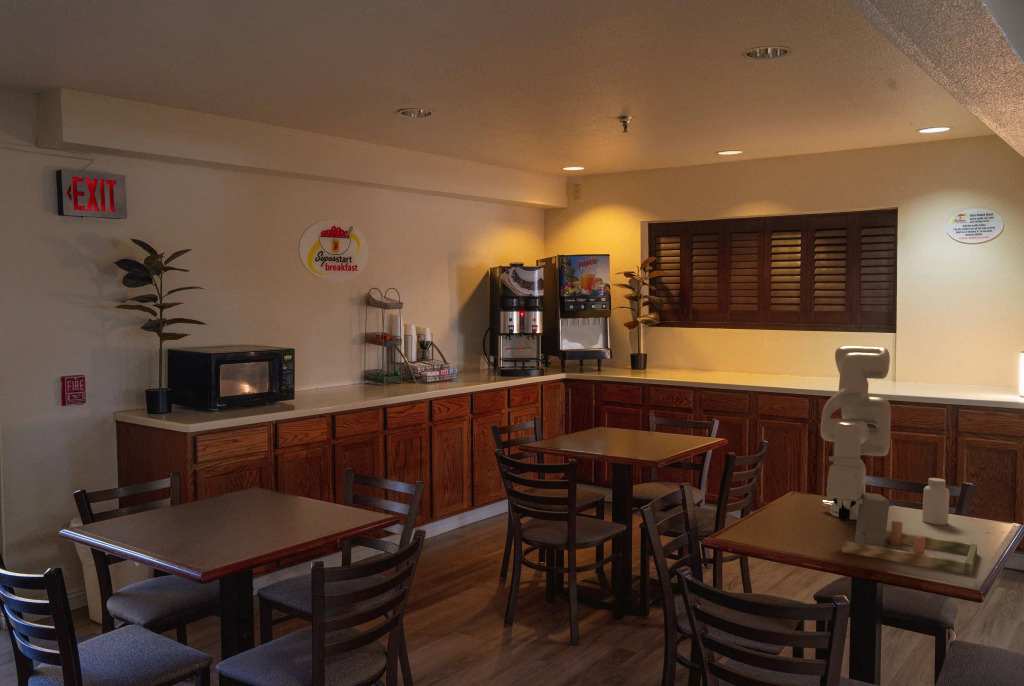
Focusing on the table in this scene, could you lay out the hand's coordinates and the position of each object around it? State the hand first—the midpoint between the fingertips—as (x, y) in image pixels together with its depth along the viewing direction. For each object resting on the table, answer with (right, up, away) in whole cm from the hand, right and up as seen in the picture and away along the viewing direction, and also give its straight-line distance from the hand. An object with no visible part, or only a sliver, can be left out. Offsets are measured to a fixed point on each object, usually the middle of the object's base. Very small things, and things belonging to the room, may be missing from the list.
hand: (843, 520), depth 250 cm
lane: (+15, -8, -9) cm, 19 cm away
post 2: (+14, -8, -17) cm, 24 cm away
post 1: (+16, -7, 0) cm, 18 cm away
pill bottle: (+43, -7, +28) cm, 52 cm away
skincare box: (+7, -7, -3) cm, 11 cm away
